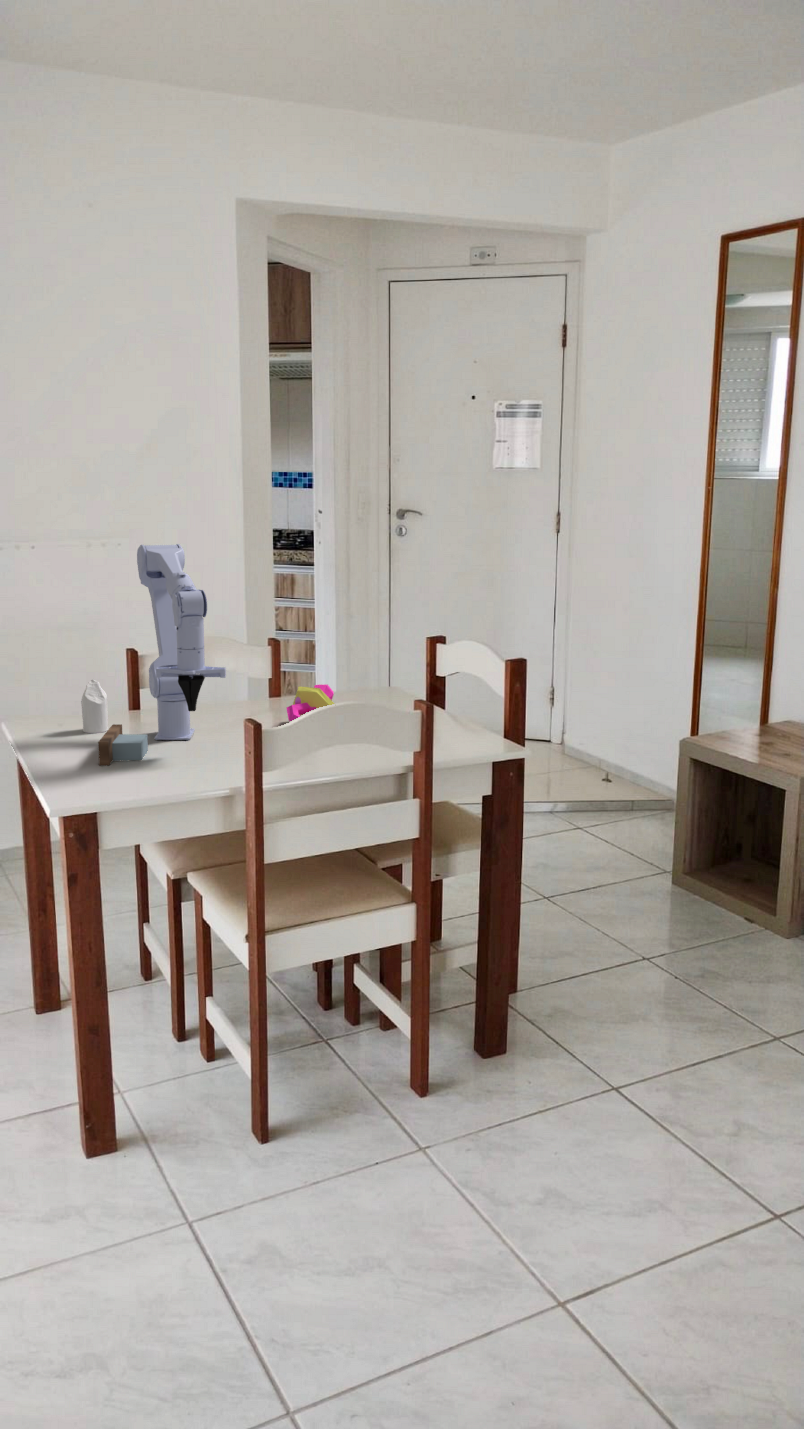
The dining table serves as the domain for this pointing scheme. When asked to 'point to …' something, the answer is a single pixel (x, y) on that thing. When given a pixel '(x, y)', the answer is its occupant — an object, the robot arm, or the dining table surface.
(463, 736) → the dining table surface
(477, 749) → the dining table surface
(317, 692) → the toy
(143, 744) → the slate block
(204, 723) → the dining table surface
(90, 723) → the crumpled white cylinder
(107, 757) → the walnut board
